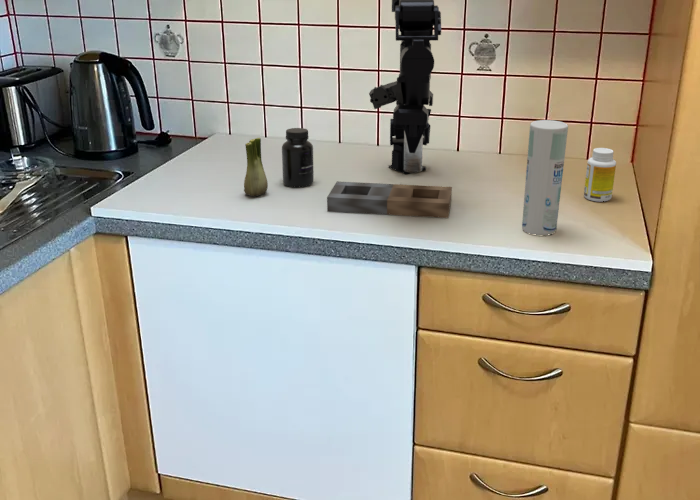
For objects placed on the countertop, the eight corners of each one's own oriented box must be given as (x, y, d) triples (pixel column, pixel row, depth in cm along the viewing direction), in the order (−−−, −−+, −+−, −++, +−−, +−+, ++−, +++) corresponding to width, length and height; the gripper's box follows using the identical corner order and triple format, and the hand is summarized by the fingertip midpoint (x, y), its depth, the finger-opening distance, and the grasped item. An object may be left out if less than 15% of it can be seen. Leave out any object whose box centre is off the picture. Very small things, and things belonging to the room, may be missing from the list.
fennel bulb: (260, 188, 164) (257, 134, 159) (274, 193, 161) (271, 138, 156) (238, 195, 160) (234, 140, 156) (253, 200, 157) (249, 144, 152)
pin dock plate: (451, 200, 156) (451, 186, 155) (448, 218, 147) (448, 203, 145) (337, 194, 160) (336, 181, 159) (327, 211, 151) (327, 197, 150)
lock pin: (414, 165, 152) (415, 116, 148) (428, 170, 149) (430, 120, 145) (397, 169, 150) (397, 119, 146) (411, 174, 147) (412, 123, 143)
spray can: (550, 239, 137) (561, 130, 129) (515, 232, 140) (524, 125, 132) (561, 227, 142) (573, 122, 134) (528, 221, 145) (537, 118, 137)
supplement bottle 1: (309, 189, 163) (308, 135, 159) (279, 187, 165) (276, 133, 160) (317, 179, 170) (315, 126, 165) (287, 177, 171) (285, 125, 166)
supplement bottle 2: (617, 200, 155) (624, 151, 151) (596, 204, 153) (602, 155, 149) (598, 192, 160) (604, 145, 156) (577, 196, 158) (583, 148, 154)
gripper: (378, 60, 151) (378, 136, 157) (365, 78, 134) (365, 162, 141) (434, 61, 149) (431, 137, 156) (428, 79, 133) (425, 164, 139)
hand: (413, 150), depth 148 cm, fingers closed on lock pin, 4 cm apart
